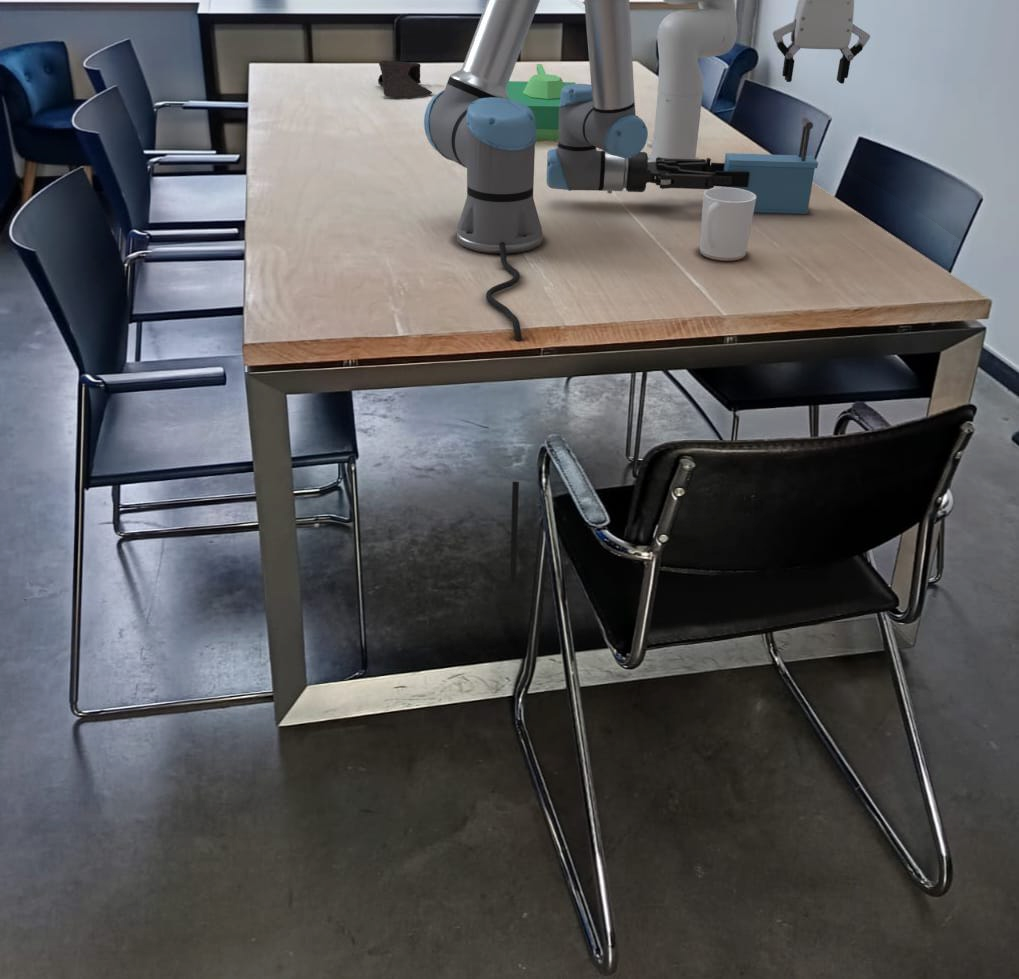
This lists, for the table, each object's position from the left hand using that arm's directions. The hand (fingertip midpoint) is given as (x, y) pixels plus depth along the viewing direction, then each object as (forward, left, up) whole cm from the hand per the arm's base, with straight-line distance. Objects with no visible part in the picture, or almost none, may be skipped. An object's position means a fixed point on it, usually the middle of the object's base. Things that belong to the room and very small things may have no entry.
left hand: (745, 175), depth 212 cm
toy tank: (+58, +45, -7) cm, 74 cm away
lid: (0, -4, +2) cm, 5 cm away
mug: (-29, +5, -7) cm, 30 cm away
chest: (0, -4, -7) cm, 8 cm away
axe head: (+91, +87, -7) cm, 126 cm away
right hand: (+1, -10, +18) cm, 20 cm away
